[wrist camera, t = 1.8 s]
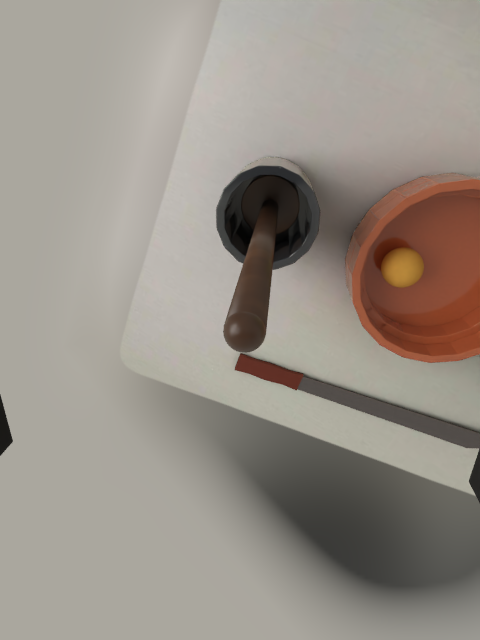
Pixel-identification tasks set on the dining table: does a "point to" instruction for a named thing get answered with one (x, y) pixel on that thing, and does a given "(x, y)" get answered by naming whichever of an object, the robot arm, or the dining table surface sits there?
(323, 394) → the knife
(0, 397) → the robot arm
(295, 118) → the dining table surface
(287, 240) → the crock
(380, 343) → the orange plant saucer
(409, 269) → the ball
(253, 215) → the wooden plunger
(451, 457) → the dining table surface
